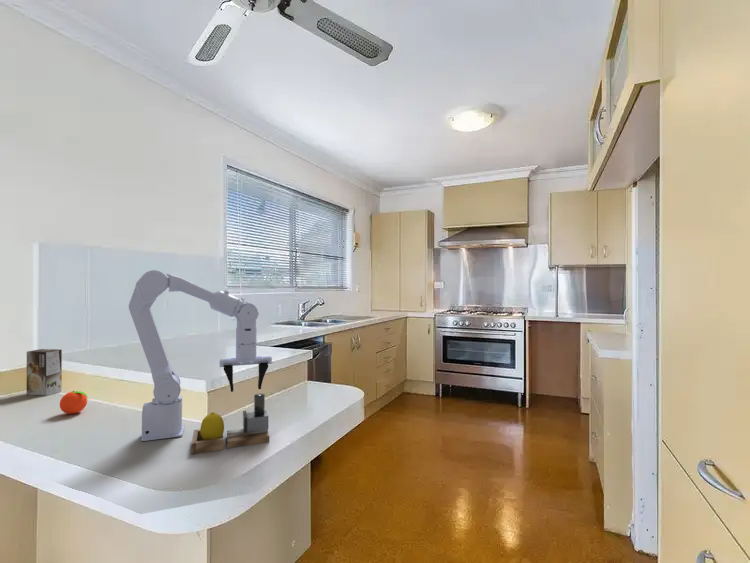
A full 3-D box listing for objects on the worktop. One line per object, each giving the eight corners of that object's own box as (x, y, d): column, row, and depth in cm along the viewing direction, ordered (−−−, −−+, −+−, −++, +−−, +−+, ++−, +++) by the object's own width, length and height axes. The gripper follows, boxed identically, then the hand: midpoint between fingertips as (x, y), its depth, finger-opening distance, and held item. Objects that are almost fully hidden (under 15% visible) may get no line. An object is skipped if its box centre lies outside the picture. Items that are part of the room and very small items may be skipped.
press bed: (227, 447, 96) (227, 437, 96) (226, 436, 104) (226, 427, 104) (269, 442, 100) (269, 432, 100) (265, 431, 107) (265, 422, 108)
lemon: (215, 449, 96) (215, 416, 96) (195, 447, 97) (195, 415, 97) (228, 440, 101) (228, 409, 101) (209, 439, 102) (209, 408, 102)
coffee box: (62, 391, 149) (63, 349, 149) (46, 396, 143) (46, 351, 143) (42, 390, 151) (42, 348, 151) (24, 394, 144) (25, 351, 144)
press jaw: (243, 432, 99) (244, 399, 99) (242, 425, 104) (242, 393, 104) (268, 429, 101) (268, 396, 101) (266, 422, 106) (266, 391, 106)
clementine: (95, 409, 127) (96, 387, 127) (80, 416, 120) (80, 393, 120) (70, 410, 126) (70, 388, 126) (53, 417, 119) (53, 393, 119)
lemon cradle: (191, 454, 93) (191, 443, 93) (193, 439, 102) (193, 430, 102) (223, 449, 95) (223, 439, 95) (222, 436, 104) (222, 426, 104)
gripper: (219, 346, 109) (219, 395, 109) (273, 343, 114) (272, 390, 114) (219, 343, 116) (219, 389, 115) (270, 340, 121) (270, 385, 121)
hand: (245, 389), depth 115 cm, fingers open, 7 cm apart
